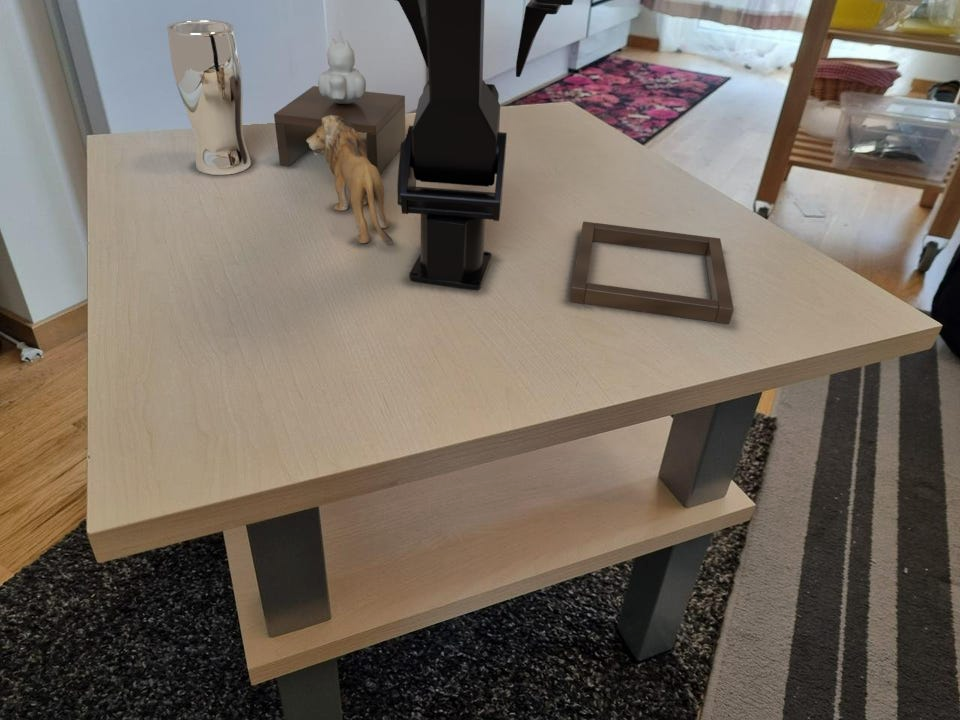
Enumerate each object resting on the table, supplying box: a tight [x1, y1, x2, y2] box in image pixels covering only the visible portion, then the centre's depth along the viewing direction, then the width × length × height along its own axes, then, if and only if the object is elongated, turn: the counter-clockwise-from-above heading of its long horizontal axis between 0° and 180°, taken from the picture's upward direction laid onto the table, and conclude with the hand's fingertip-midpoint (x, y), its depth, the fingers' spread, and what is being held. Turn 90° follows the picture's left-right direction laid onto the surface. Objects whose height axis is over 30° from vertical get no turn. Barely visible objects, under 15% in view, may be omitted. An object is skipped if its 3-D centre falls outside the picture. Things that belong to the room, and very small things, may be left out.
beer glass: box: [166, 19, 252, 176], centre depth 79 cm, size 7×7×15 cm
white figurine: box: [317, 30, 367, 104], centre depth 82 cm, size 5×7×8 cm
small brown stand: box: [273, 85, 406, 175], centre depth 86 cm, size 12×12×6 cm
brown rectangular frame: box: [569, 221, 734, 325], centre depth 66 cm, size 14×14×2 cm
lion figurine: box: [306, 115, 394, 244], centre depth 71 cm, size 15×5×9 cm, turn 33°
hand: (473, 71), depth 73 cm, fingers open, 9 cm apart
